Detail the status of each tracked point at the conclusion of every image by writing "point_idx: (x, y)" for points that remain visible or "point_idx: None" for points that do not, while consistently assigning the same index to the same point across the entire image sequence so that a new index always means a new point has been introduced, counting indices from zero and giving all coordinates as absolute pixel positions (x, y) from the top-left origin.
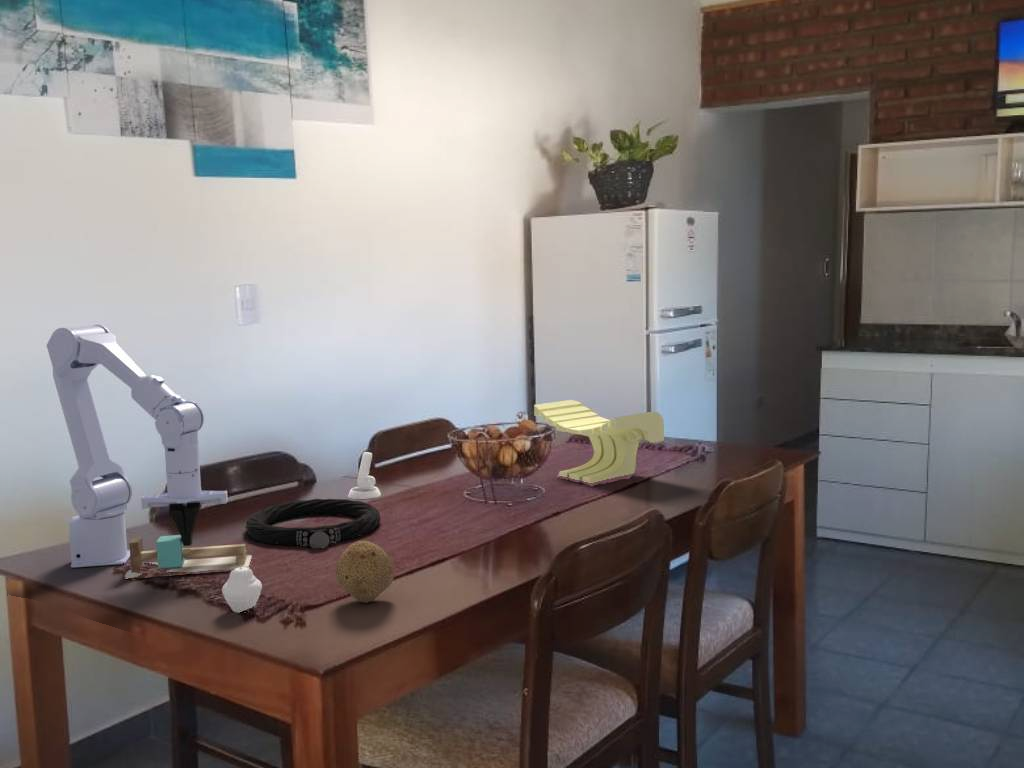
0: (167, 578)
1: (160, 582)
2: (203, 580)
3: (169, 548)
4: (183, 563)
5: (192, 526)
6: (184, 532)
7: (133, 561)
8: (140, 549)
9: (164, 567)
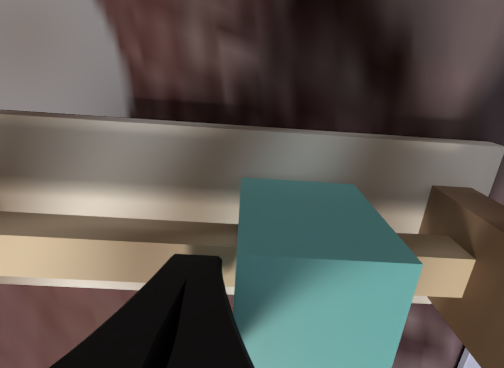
0: (303, 105)
1: (334, 46)
2: (115, 4)
3: (311, 229)
4: None
5: (71, 354)
6: (186, 313)
7: (497, 209)
8: (488, 280)
9: (324, 183)
